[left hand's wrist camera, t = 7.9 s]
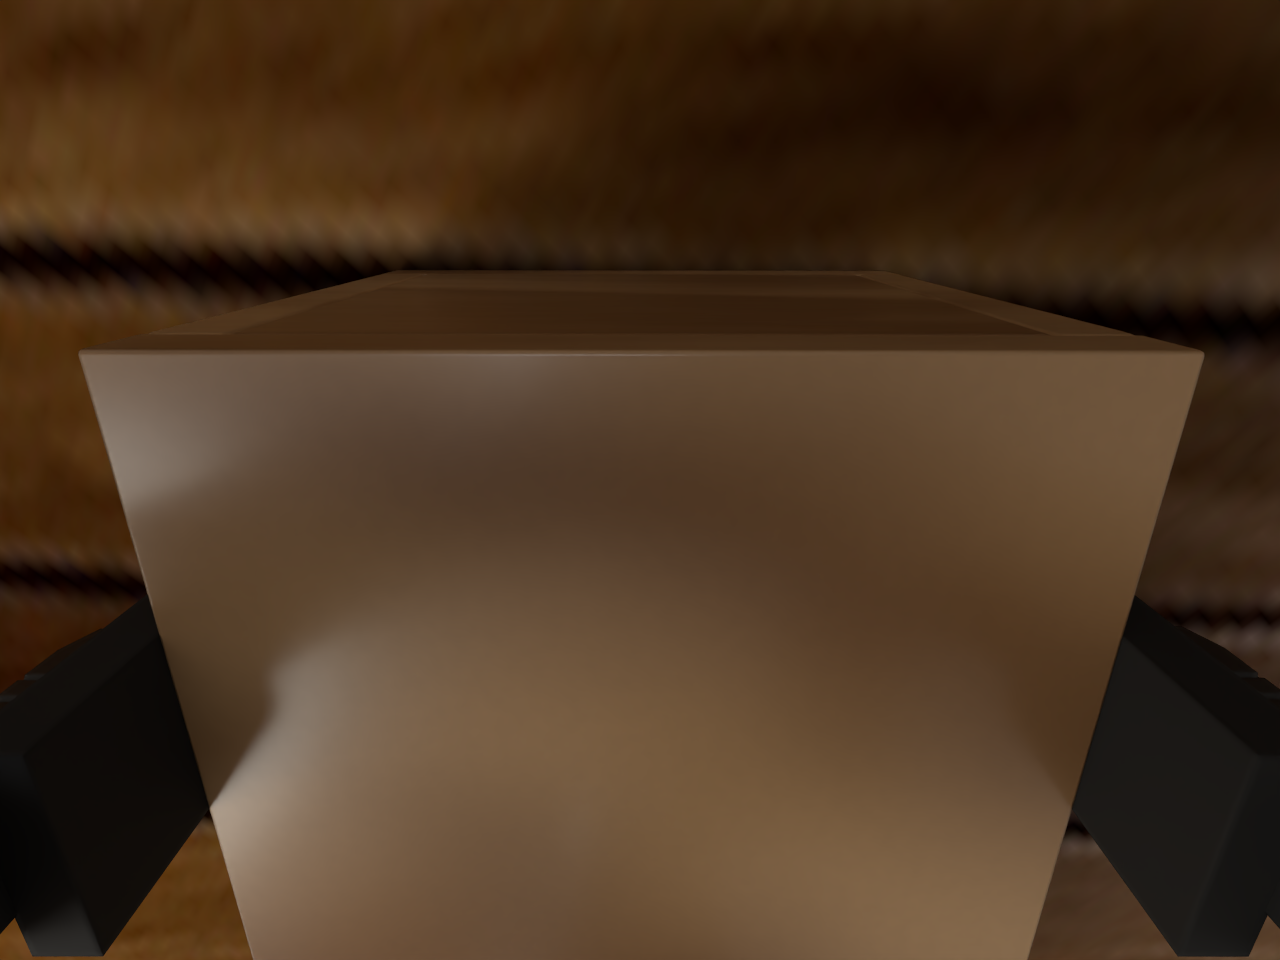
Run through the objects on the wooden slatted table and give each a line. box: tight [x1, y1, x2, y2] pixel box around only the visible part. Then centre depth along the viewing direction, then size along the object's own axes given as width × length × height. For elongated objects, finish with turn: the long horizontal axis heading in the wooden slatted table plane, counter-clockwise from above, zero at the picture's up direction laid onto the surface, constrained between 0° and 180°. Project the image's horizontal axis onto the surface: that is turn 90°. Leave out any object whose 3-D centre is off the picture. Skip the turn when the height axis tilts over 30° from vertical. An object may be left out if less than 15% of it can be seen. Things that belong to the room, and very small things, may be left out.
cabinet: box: [79, 270, 1204, 960], centre depth 15 cm, size 21×12×10 cm, turn 0°
